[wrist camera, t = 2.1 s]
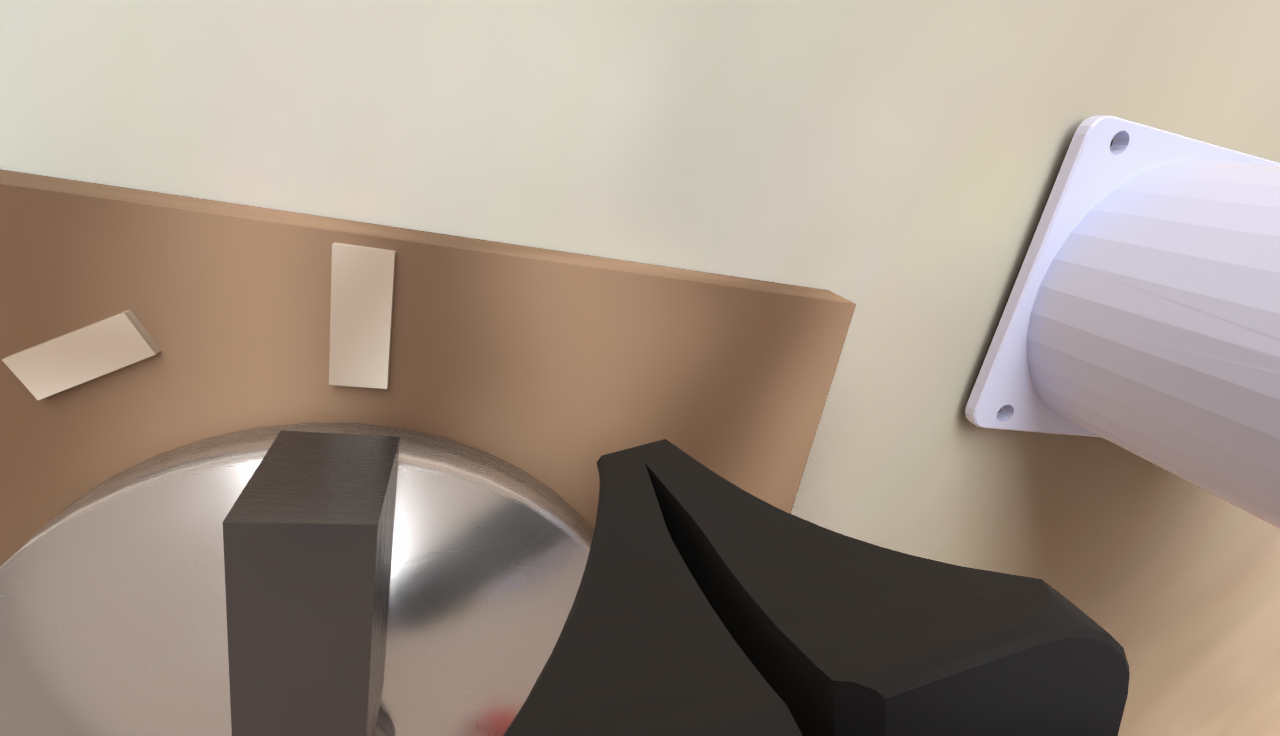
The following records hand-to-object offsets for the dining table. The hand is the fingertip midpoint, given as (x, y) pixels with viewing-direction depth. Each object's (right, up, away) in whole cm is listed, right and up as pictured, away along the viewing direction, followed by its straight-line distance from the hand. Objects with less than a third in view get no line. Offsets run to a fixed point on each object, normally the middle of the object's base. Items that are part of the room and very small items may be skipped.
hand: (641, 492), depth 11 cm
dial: (-7, -5, +2) cm, 8 cm away
